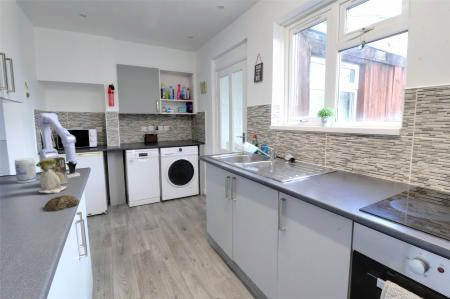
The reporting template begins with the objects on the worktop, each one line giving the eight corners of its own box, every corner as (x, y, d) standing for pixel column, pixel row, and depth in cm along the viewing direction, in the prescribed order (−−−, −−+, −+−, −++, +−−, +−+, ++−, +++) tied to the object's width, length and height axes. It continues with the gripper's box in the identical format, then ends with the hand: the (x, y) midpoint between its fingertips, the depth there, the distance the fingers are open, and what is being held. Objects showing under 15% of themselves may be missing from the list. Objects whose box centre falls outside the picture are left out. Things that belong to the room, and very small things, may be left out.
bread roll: (72, 199, 113) (71, 189, 112) (82, 205, 105) (81, 195, 105) (40, 207, 103) (39, 197, 103) (48, 214, 96) (46, 203, 95)
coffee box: (64, 181, 144) (61, 156, 142) (68, 183, 141) (65, 157, 138) (47, 185, 137) (43, 159, 135) (50, 186, 133) (47, 160, 131)
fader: (69, 173, 158) (68, 168, 157) (73, 172, 160) (72, 167, 159) (70, 173, 157) (69, 168, 156) (74, 173, 159) (73, 168, 158)
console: (50, 176, 158) (49, 171, 157) (71, 172, 168) (71, 167, 167) (57, 179, 148) (57, 174, 147) (80, 175, 158) (79, 170, 158)
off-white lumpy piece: (47, 196, 118) (42, 161, 115) (32, 193, 123) (27, 159, 120) (70, 189, 129) (66, 157, 126) (55, 186, 134) (51, 156, 131)
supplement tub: (13, 184, 140) (10, 161, 138) (22, 180, 149) (19, 158, 147) (32, 182, 143) (29, 159, 140) (39, 178, 152) (36, 157, 149)
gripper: (81, 153, 153) (83, 172, 155) (73, 151, 162) (75, 170, 164) (69, 154, 148) (71, 175, 150) (61, 152, 157) (63, 172, 159)
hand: (72, 172), depth 157 cm, fingers closed
